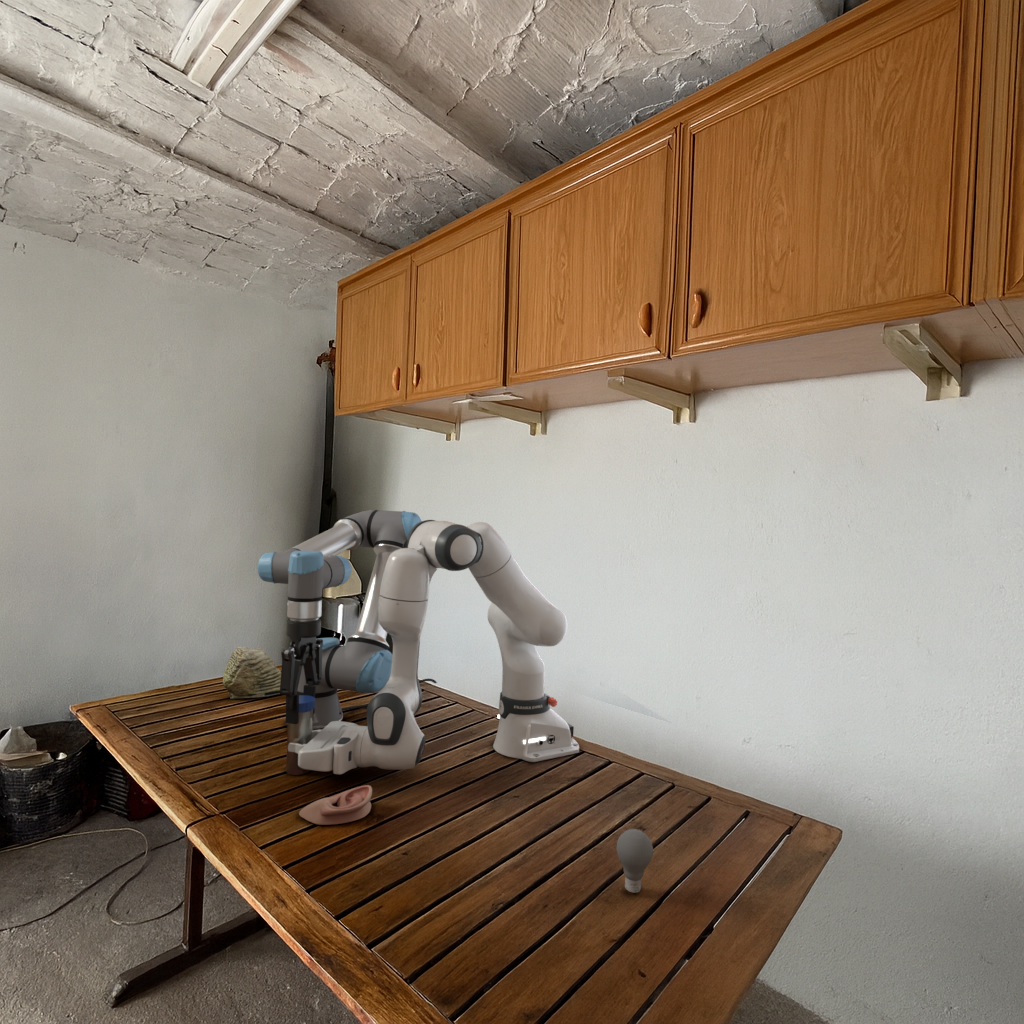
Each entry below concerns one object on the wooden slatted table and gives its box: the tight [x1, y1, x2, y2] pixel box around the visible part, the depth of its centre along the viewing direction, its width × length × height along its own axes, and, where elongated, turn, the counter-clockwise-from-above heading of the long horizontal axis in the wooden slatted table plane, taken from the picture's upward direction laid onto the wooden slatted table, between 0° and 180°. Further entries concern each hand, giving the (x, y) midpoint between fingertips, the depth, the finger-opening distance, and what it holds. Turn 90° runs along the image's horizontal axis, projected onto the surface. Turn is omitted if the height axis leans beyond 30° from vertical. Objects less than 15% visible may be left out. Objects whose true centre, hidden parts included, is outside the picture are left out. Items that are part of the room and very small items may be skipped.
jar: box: [285, 710, 313, 776], centre depth 146 cm, size 5×5×16 cm
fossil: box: [222, 646, 281, 699], centre depth 198 cm, size 9×18×15 cm, turn 132°
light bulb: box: [615, 828, 654, 894], centre depth 106 cm, size 6×6×10 cm
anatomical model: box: [298, 784, 373, 826], centre depth 127 cm, size 13×4×12 cm
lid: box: [298, 695, 315, 712], centre depth 146 cm, size 6×6×2 cm
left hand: (300, 717), depth 146 cm, fingers closed on lid, 6 cm apart
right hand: (295, 740), depth 146 cm, fingers closed on jar, 5 cm apart
